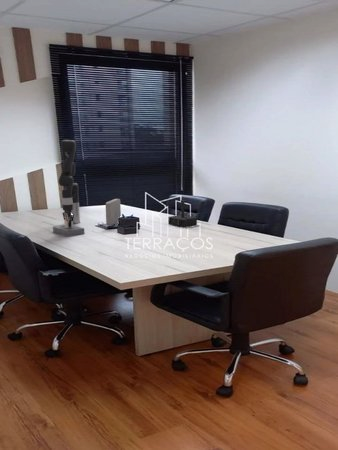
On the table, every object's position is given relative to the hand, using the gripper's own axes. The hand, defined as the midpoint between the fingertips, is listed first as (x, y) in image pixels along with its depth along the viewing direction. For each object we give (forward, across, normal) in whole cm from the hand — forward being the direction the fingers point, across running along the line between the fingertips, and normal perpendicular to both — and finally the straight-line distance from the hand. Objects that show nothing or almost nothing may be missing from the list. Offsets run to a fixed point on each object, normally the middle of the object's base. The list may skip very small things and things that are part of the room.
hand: (68, 226), depth 315 cm
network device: (+5, +3, -42) cm, 42 cm away
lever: (+1, 0, 0) cm, 1 cm away
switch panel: (+5, +1, 0) cm, 5 cm away
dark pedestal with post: (+5, -36, -82) cm, 90 cm away
